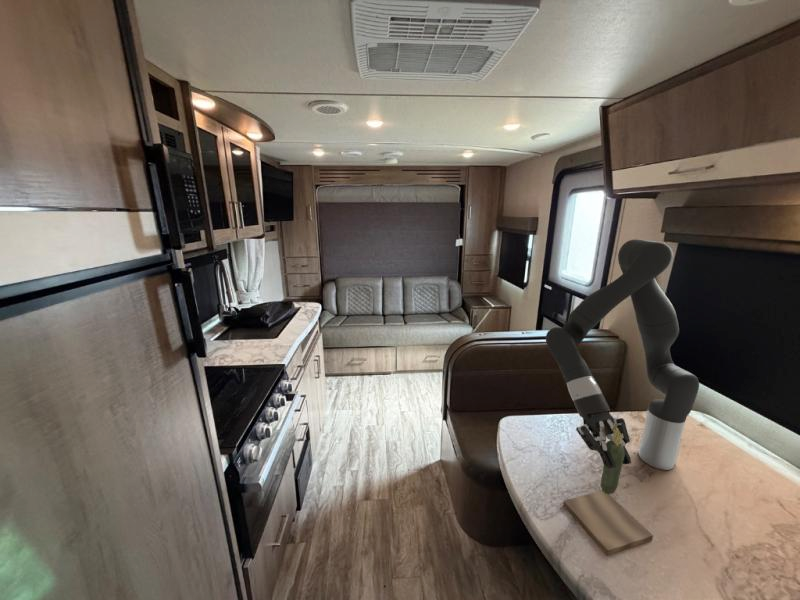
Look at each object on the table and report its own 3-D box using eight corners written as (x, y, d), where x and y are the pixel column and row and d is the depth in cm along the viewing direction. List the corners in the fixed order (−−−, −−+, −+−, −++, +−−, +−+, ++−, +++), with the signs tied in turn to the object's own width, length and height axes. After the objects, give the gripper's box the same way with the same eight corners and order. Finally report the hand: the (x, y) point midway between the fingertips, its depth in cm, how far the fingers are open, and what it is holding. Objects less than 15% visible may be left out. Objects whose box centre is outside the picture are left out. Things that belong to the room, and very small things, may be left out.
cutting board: (603, 493, 91) (604, 489, 90) (652, 539, 78) (653, 535, 77) (563, 505, 87) (563, 500, 87) (606, 555, 74) (607, 550, 74)
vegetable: (618, 503, 79) (633, 436, 74) (599, 500, 80) (612, 434, 75) (610, 489, 83) (623, 424, 78) (592, 486, 84) (604, 422, 79)
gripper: (574, 396, 80) (607, 471, 72) (618, 388, 84) (654, 459, 76) (556, 403, 86) (585, 472, 78) (598, 395, 90) (630, 461, 82)
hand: (619, 465), depth 77 cm, fingers closed on vegetable, 4 cm apart
